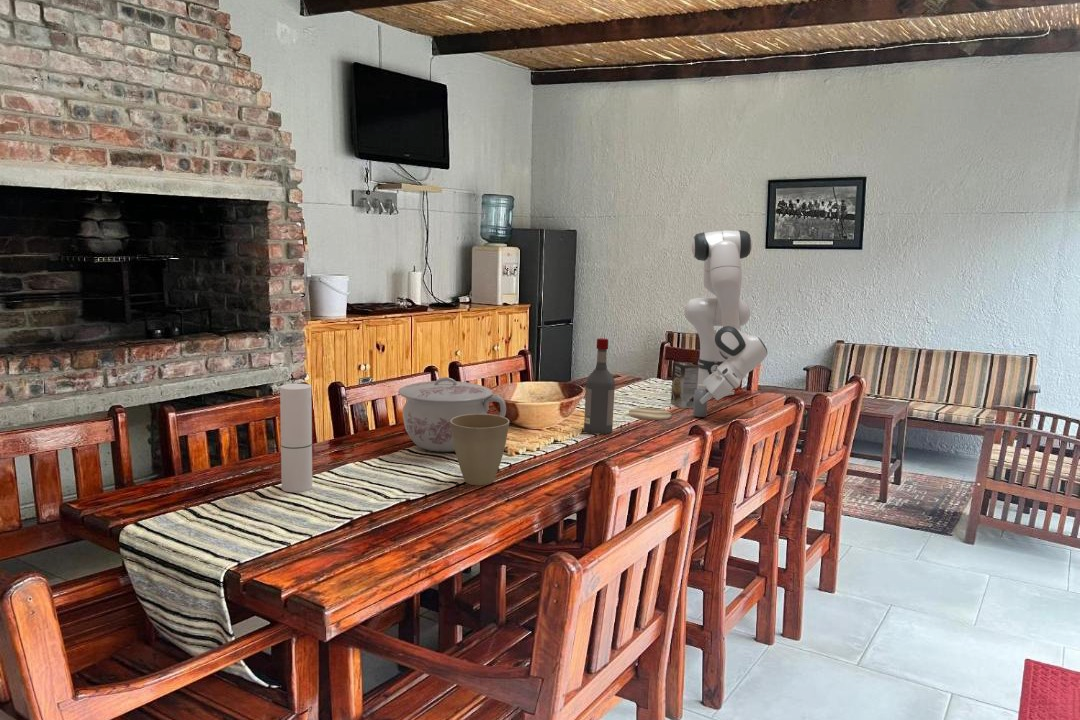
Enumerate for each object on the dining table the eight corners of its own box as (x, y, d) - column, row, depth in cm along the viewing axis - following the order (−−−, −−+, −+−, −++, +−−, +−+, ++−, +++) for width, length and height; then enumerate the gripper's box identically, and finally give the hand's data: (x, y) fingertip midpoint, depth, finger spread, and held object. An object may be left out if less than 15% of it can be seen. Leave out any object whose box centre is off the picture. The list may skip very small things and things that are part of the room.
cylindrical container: (310, 481, 199) (309, 383, 195) (313, 490, 193) (312, 388, 189) (280, 484, 197) (279, 384, 193) (282, 493, 190) (280, 390, 186)
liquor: (612, 427, 265) (617, 338, 260) (612, 434, 256) (617, 341, 251) (584, 426, 266) (588, 336, 261) (583, 433, 257) (587, 340, 252)
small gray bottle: (692, 413, 287) (694, 383, 286) (705, 414, 287) (707, 383, 286) (694, 416, 283) (696, 386, 281) (707, 417, 283) (709, 386, 281)
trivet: (627, 409, 293) (627, 407, 293) (668, 411, 293) (668, 408, 292) (630, 419, 278) (630, 416, 278) (674, 421, 278) (674, 418, 278)
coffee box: (669, 403, 307) (672, 361, 305) (685, 402, 309) (687, 361, 306) (681, 408, 299) (683, 365, 296) (696, 407, 301) (699, 365, 298)
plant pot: (477, 468, 215) (479, 410, 212) (519, 481, 206) (521, 420, 203) (436, 481, 204) (437, 419, 201) (479, 494, 194) (480, 430, 192)
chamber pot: (378, 444, 236) (378, 374, 232) (451, 430, 255) (452, 365, 252) (437, 466, 216) (439, 390, 213) (512, 449, 236) (514, 379, 232)
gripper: (717, 362, 292) (688, 387, 294) (728, 373, 272) (697, 400, 274) (728, 375, 293) (699, 400, 295) (740, 386, 273) (710, 413, 275)
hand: (699, 400), depth 284 cm, fingers closed on small gray bottle, 5 cm apart
